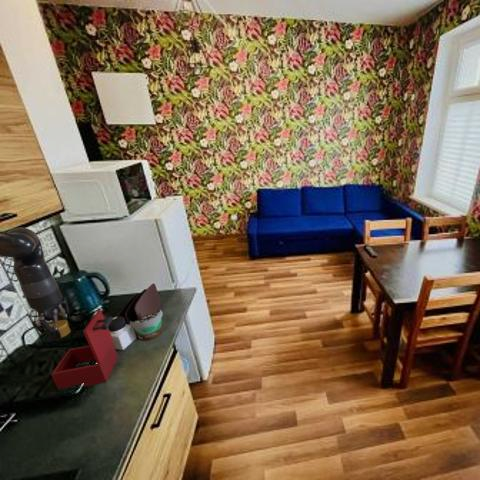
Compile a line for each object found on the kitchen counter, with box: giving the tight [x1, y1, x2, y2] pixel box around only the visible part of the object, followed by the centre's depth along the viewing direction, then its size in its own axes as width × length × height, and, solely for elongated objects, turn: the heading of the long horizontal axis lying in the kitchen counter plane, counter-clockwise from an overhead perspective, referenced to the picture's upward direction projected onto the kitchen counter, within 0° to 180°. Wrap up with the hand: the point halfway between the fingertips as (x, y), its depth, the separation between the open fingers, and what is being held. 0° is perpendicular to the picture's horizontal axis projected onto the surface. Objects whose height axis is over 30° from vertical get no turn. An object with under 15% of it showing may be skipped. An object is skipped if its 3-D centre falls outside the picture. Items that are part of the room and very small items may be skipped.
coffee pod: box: [49, 319, 72, 339], centre depth 89 cm, size 5×5×4 cm
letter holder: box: [116, 282, 162, 331], centre depth 124 cm, size 10×20×14 cm, turn 8°
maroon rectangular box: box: [50, 342, 119, 390], centre depth 97 cm, size 14×12×8 cm
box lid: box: [82, 309, 114, 364], centre depth 94 cm, size 14×12×5 cm
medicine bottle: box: [108, 316, 138, 351], centre depth 110 cm, size 7×7×12 cm
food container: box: [130, 307, 164, 341], centre depth 114 cm, size 12×6×10 cm, turn 137°
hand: (61, 333), depth 90 cm, fingers closed on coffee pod, 4 cm apart
